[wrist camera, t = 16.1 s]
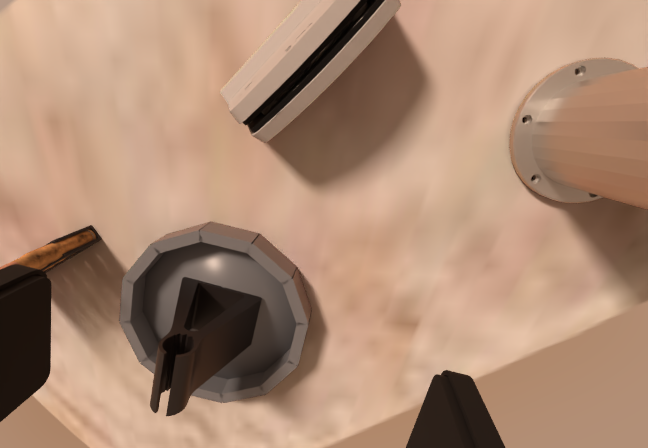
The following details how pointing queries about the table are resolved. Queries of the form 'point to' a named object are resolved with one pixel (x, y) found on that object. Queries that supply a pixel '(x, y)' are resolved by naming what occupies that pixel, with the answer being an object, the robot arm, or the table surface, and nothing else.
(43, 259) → the ammunition clip
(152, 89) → the table surface
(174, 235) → the round tray
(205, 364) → the phone stand
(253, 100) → the white electronic device
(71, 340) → the table surface
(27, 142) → the table surface
